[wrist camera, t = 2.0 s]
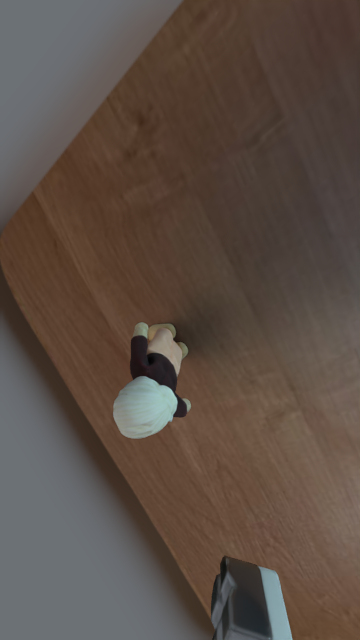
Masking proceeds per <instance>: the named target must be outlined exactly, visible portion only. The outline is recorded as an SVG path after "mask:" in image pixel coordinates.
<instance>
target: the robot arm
mask: <svg viewBox="0 0 360 640" xmlns="http://www.w3.org/2000/svg"><path fill="white" fill-rule="evenodd" d="M220 571H221V573H220V574H218V575H217V576H216V579H215V582H214V586H213V592H212V601H211V621H212V623H213V625H214V628H215V633H214V636H213V639H212V640H292V635H291V631H290V626H289V622H288V617H287V613H286V609H285V604H284V600H283V595H282V591H281V586H280V582H279V578H278V575H277V573H276V572H275V571H273V570H270V569H267V568H263V567H260V566H257V565H255V564H252V563H249V562H245V561H242V560H238V559H235V558H231V557H228V556H224V557H223V558H222V561H221V564H220Z"/></svg>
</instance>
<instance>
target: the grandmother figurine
mask: <svg viewBox="0 0 360 640" xmlns="http://www.w3.org/2000/svg"><path fill="white" fill-rule="evenodd" d="M147 333H148V337H149V340H150V341H151V342H150V343H149V345H148V344H147ZM175 335H176V331H175V328H174V326H173V325H172V324H156V325H152V326H151V327H150V328H149V330H148V326H147V325H146V324H145V323H143V322H141V323H138V324H137V325H136V326H135V332H134V334H133V338H132V340H131V361H130V370H131V375H132V378H133V381H132V382H130V383H128V384H127V385H126V386H125V388H124V389H122V390H121V391H120V392H119V396H118V397H117V398H116V400H115V402H114V411H113V416H114V419H115V422H116V424H117V425H118V427H119V430H120V432H121V433H122V434H123V435H124V436H126V437H129V438H144V437H147V436H149V435H152V434H155V433H157V432H159V431H160V430H161V429H162V428H163V427H164V426H165V425H166V424H167V423H168V421H172V418H173V417H184V416H186V414H187V412H188V411H189V410H190V408H191V404H190V402H189V400H187V399H181V398H180V397H179V396H178V395H177V394H176V393H175V390H176V385H177V376H178V373H179V370H180V364H181V360H182V359H183V358H184V357H185V356H186V355H187V354H188V348H187V347H186V345H185V344H184V343H182V342H177V343H176V342H175V341H174V340H173V338H174V337H175Z"/></svg>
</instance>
